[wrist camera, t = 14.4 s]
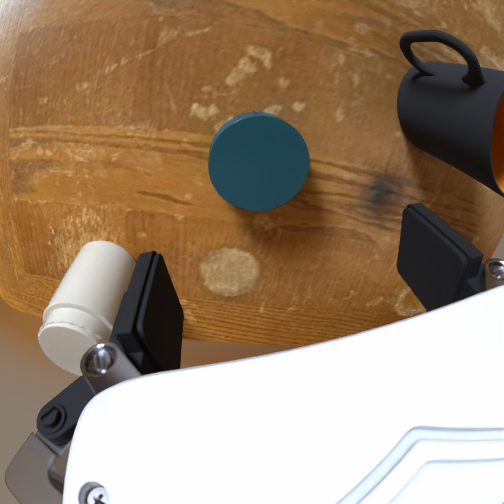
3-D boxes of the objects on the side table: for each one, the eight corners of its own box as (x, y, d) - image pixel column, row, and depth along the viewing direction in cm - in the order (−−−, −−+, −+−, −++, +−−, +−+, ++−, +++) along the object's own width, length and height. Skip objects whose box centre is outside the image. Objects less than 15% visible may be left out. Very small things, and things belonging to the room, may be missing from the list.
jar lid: (204, 115, 19) (202, 119, 18) (301, 109, 20) (309, 112, 18) (214, 204, 23) (214, 216, 21) (301, 196, 23) (309, 207, 22)
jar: (147, 254, 25) (122, 342, 17) (131, 305, 28) (111, 389, 20) (80, 230, 23) (31, 307, 15) (73, 284, 26) (37, 362, 17)
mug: (406, 9, 15) (500, -2, 6) (477, 113, 20) (559, 149, 11) (346, 68, 18) (434, 73, 9) (430, 170, 23) (509, 224, 14)
